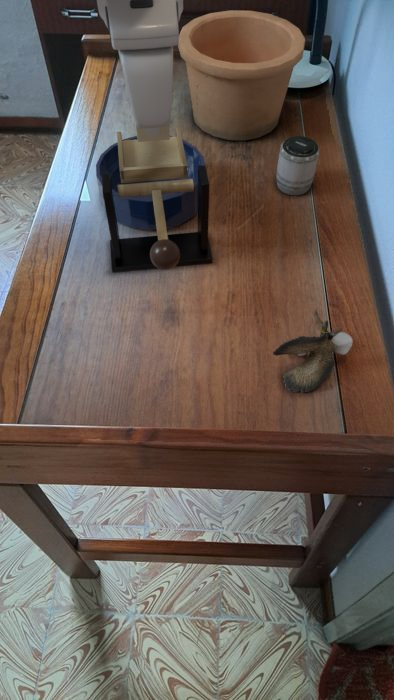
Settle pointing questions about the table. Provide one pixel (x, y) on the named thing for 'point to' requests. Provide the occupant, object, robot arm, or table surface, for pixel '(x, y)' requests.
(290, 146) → the camera lens
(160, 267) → the tan piece
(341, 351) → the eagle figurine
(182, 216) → the navy blue bowl
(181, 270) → the table surface
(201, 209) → the stand
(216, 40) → the pottery
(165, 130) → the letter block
